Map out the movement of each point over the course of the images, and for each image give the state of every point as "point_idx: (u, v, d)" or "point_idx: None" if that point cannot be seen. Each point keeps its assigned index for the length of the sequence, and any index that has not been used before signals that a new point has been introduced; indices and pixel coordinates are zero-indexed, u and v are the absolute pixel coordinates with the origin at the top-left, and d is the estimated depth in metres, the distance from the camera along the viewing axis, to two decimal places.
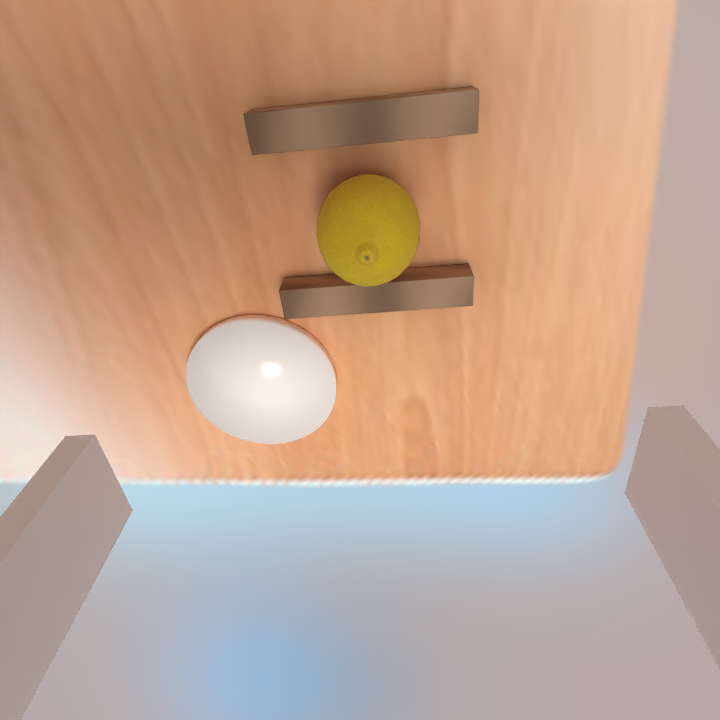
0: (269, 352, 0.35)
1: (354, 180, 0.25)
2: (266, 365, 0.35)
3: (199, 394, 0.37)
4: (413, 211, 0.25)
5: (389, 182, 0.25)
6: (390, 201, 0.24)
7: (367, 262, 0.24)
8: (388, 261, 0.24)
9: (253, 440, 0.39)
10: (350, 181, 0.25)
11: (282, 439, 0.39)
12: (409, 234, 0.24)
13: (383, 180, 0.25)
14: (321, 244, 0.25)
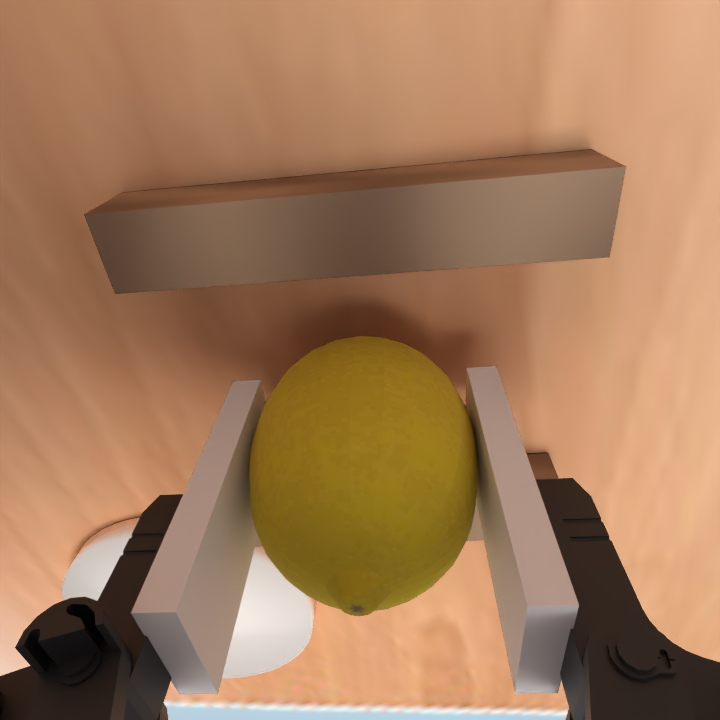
0: None
1: (331, 374, 0.11)
2: None
3: None
4: (467, 447, 0.11)
5: (412, 379, 0.11)
6: (416, 451, 0.10)
7: (359, 614, 0.09)
8: (411, 592, 0.10)
9: None
10: (321, 375, 0.11)
11: (230, 674, 0.25)
12: (462, 521, 0.10)
13: (399, 376, 0.11)
14: (254, 522, 0.11)
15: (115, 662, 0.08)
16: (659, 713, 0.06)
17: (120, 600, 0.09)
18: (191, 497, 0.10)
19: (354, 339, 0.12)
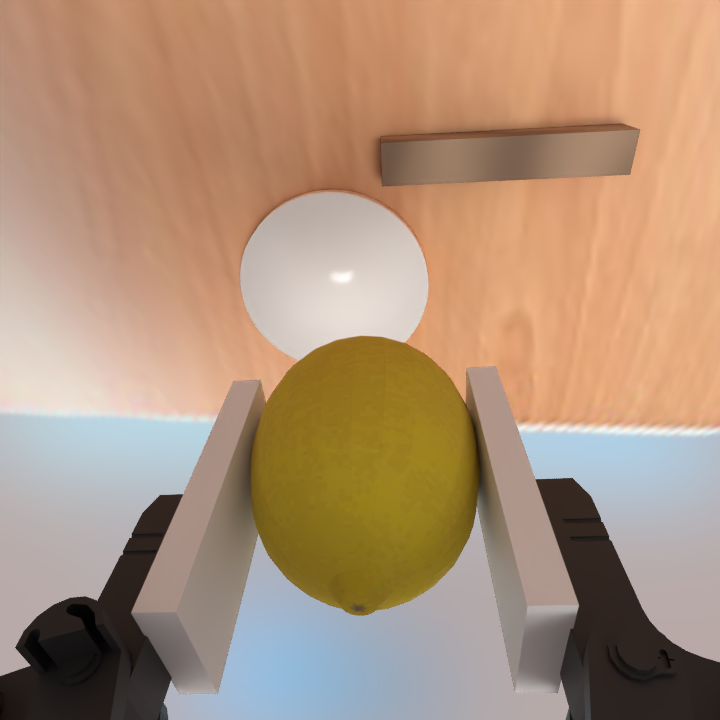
0: (350, 239, 0.27)
1: (332, 374, 0.11)
2: (344, 258, 0.28)
3: (254, 297, 0.30)
4: (469, 447, 0.11)
5: (413, 378, 0.11)
6: (417, 451, 0.10)
7: (360, 613, 0.09)
8: (413, 591, 0.10)
9: None
10: (323, 375, 0.11)
11: None
12: (463, 521, 0.10)
13: (400, 376, 0.11)
14: (255, 521, 0.11)
15: (115, 662, 0.08)
16: (659, 713, 0.06)
17: (120, 601, 0.09)
18: (191, 497, 0.10)
19: (355, 339, 0.12)
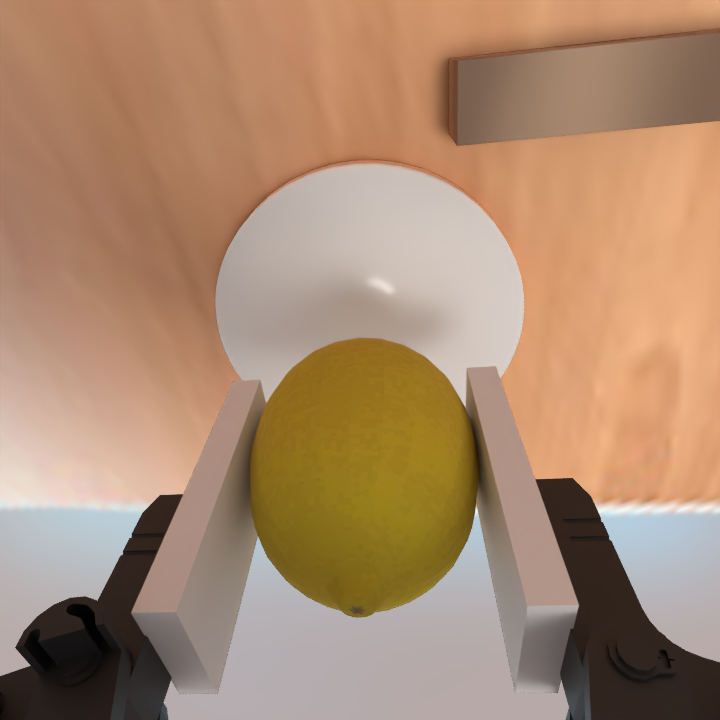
0: (396, 244, 0.16)
1: (331, 376, 0.11)
2: (386, 276, 0.17)
3: (240, 341, 0.18)
4: (467, 449, 0.11)
5: (412, 380, 0.11)
6: (416, 454, 0.10)
7: (359, 616, 0.09)
8: (411, 593, 0.10)
9: None
10: (322, 377, 0.11)
11: None
12: (461, 523, 0.10)
13: (399, 377, 0.11)
14: (254, 523, 0.11)
15: (115, 662, 0.08)
16: (659, 713, 0.06)
17: (119, 600, 0.09)
18: (191, 497, 0.10)
19: (354, 341, 0.12)
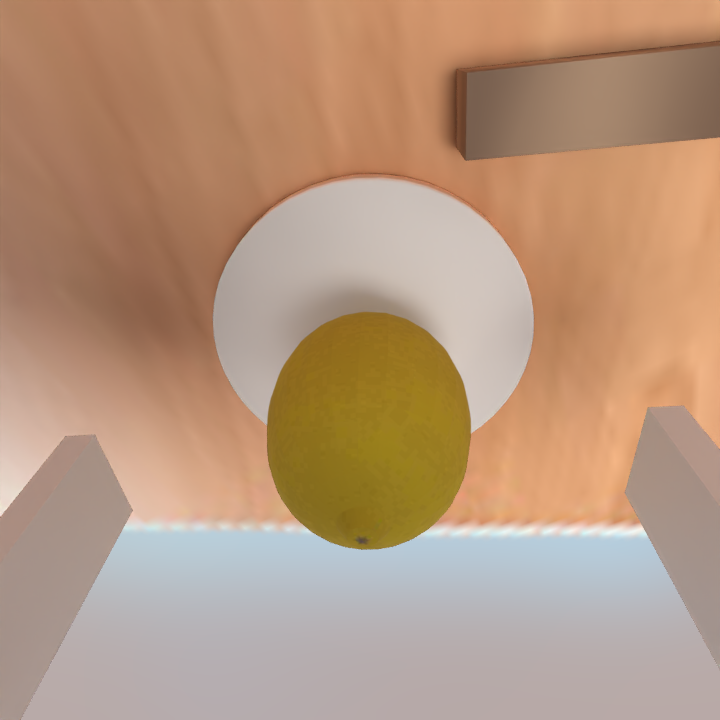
0: (401, 261, 0.16)
1: (340, 342, 0.12)
2: (390, 293, 0.16)
3: (239, 359, 0.18)
4: (461, 408, 0.12)
5: (412, 347, 0.12)
6: (415, 407, 0.11)
7: (364, 546, 0.11)
8: (409, 530, 0.11)
9: None
10: (332, 343, 0.12)
11: None
12: (454, 470, 0.11)
13: (401, 344, 0.12)
14: (271, 471, 0.12)
15: None
16: None
17: None
18: None
19: (361, 313, 0.14)
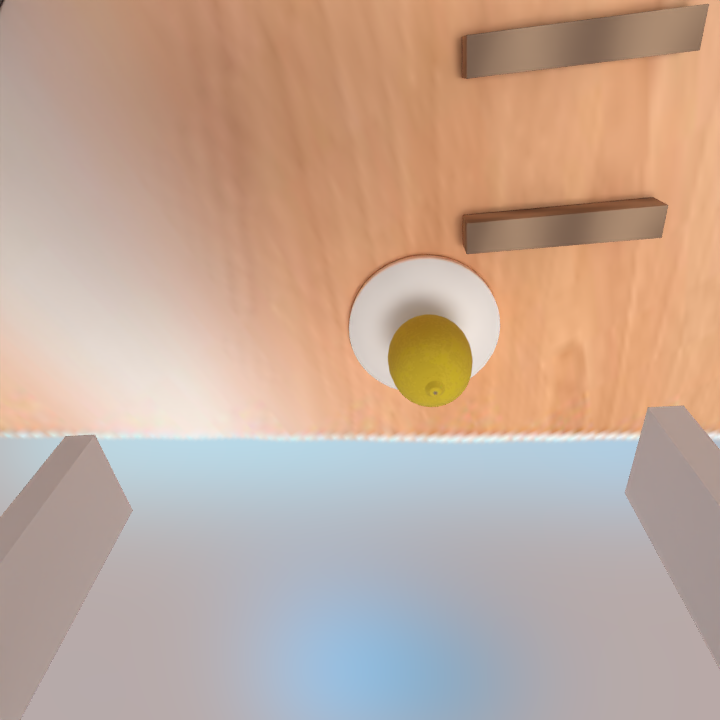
0: (438, 292, 0.35)
1: (421, 324, 0.31)
2: (433, 307, 0.35)
3: (359, 339, 0.37)
4: (468, 350, 0.31)
5: (449, 326, 0.32)
6: (453, 346, 0.30)
7: (435, 396, 0.30)
8: (451, 393, 0.30)
9: None
10: (418, 325, 0.32)
11: None
12: (467, 371, 0.31)
13: (445, 325, 0.31)
14: (395, 375, 0.31)
15: None
16: None
17: None
18: None
19: (426, 314, 0.33)
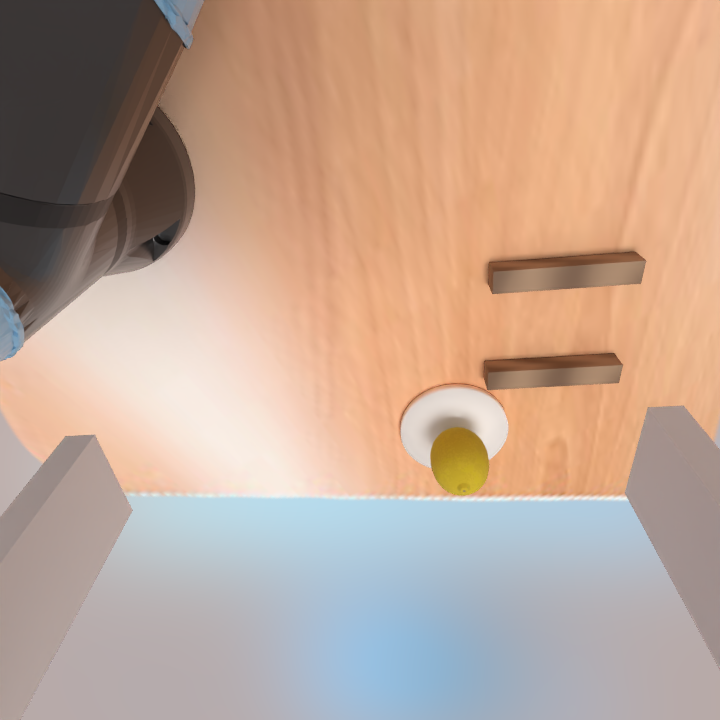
0: (466, 409, 0.50)
1: (455, 440, 0.46)
2: (461, 418, 0.50)
3: (407, 436, 0.52)
4: (487, 458, 0.46)
5: (474, 442, 0.46)
6: (476, 459, 0.45)
7: (464, 492, 0.45)
8: (474, 489, 0.45)
9: None
10: (453, 440, 0.46)
11: None
12: (485, 475, 0.46)
13: (471, 441, 0.46)
14: (436, 474, 0.46)
15: None
16: None
17: None
18: None
19: (458, 429, 0.48)
